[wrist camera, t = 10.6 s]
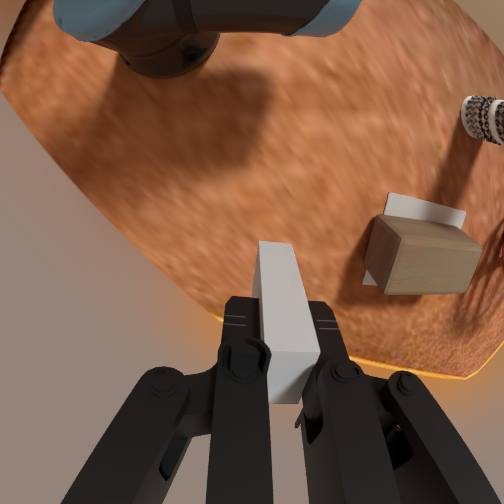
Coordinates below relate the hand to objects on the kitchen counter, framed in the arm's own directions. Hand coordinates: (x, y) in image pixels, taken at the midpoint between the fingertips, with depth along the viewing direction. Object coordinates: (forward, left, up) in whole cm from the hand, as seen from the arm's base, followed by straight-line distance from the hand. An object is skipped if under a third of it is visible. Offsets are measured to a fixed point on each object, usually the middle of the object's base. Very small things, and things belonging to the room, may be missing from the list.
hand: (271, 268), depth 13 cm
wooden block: (+10, +20, -24) cm, 33 cm away
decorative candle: (-18, +39, -30) cm, 52 cm away
